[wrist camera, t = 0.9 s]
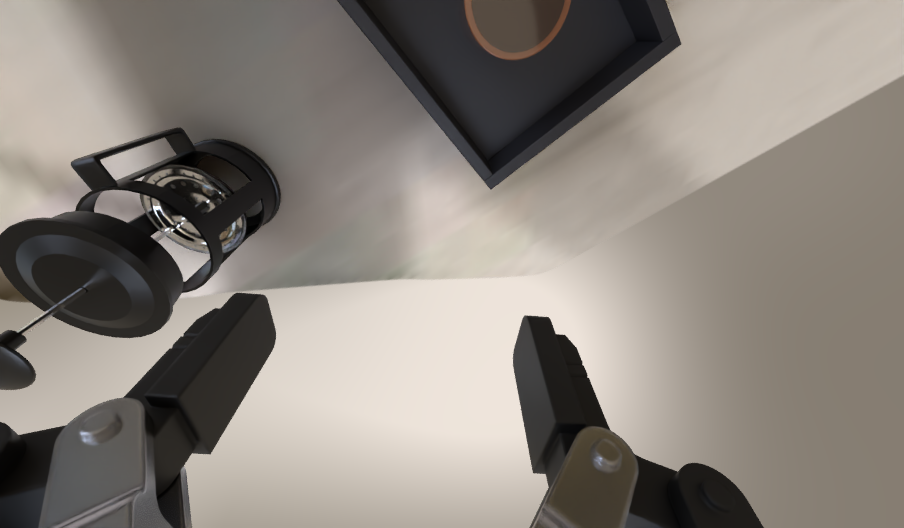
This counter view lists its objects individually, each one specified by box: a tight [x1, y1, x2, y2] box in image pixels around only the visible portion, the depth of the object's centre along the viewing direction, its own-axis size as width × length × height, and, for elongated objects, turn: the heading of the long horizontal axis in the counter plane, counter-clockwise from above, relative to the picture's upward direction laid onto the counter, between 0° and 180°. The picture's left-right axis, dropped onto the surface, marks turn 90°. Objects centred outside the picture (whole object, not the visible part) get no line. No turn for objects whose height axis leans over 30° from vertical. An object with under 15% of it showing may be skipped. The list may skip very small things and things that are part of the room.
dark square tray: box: [337, 0, 681, 189], centre depth 25 cm, size 20×17×5 cm
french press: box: [0, 128, 280, 390], centre depth 25 cm, size 12×9×23 cm
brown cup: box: [459, 0, 571, 60], centre depth 22 cm, size 6×6×9 cm
